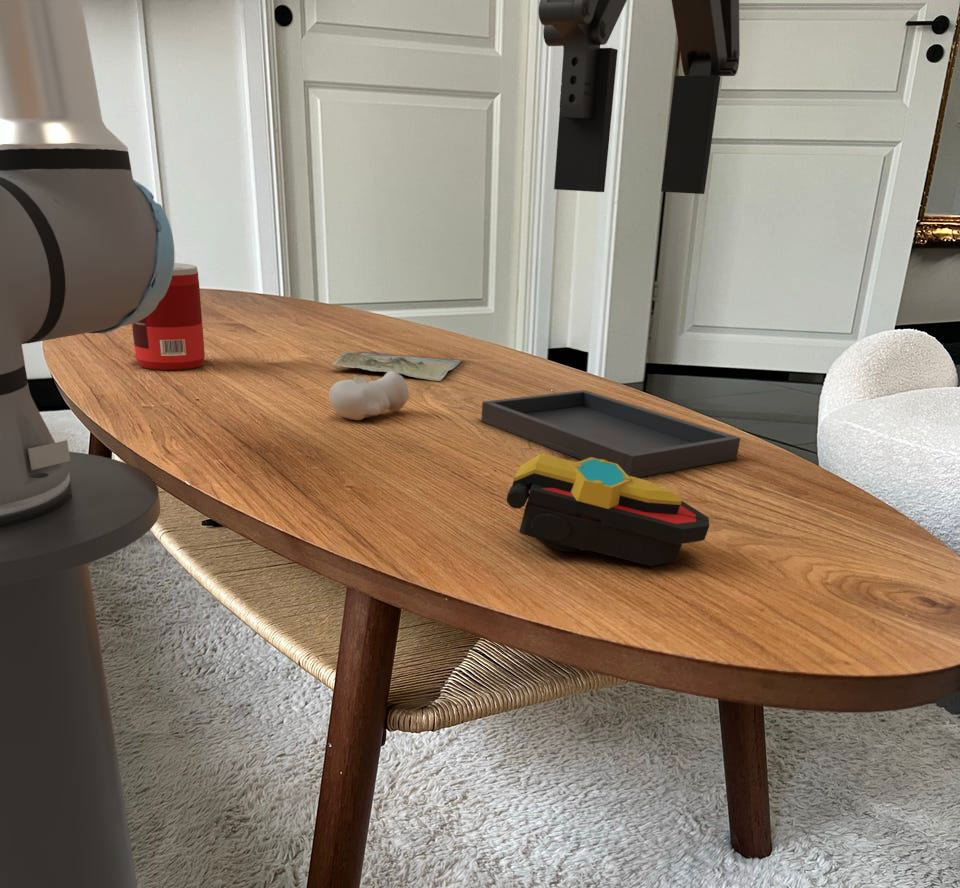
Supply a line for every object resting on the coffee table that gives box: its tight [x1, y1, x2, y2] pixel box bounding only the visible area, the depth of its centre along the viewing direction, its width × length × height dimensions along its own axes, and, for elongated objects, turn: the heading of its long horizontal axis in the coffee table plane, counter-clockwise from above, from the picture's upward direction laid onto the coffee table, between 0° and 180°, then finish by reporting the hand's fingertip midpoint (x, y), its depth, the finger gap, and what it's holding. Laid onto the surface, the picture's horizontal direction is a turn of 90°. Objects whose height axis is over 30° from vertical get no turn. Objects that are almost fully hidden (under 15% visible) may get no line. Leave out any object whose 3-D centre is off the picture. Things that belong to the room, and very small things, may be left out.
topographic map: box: [330, 351, 462, 382], centre depth 117 cm, size 14×14×2 cm
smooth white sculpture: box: [328, 371, 409, 421], centre depth 93 cm, size 4×8×5 cm
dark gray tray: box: [481, 389, 741, 479], centre depth 90 cm, size 22×14×2 cm, turn 36°
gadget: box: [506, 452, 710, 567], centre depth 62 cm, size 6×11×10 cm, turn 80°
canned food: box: [131, 262, 206, 371], centre depth 109 cm, size 8×8×11 cm
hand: (635, 192), depth 56 cm, fingers open, 13 cm apart
